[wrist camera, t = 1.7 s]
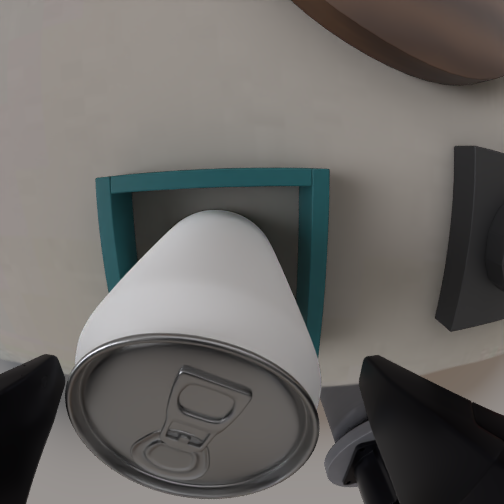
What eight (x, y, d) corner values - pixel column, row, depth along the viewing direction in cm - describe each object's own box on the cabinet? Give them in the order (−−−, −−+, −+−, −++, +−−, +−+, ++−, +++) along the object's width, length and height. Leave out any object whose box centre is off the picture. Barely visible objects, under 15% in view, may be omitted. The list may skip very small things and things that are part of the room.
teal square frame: (306, 343, 19) (316, 371, 16) (140, 345, 18) (127, 373, 15) (313, 168, 16) (330, 168, 13) (117, 175, 15) (94, 178, 12)
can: (144, 290, 17) (47, 449, 6) (186, 187, 16) (69, 244, 4) (243, 334, 18) (255, 518, 7) (295, 239, 17) (399, 380, 5)
